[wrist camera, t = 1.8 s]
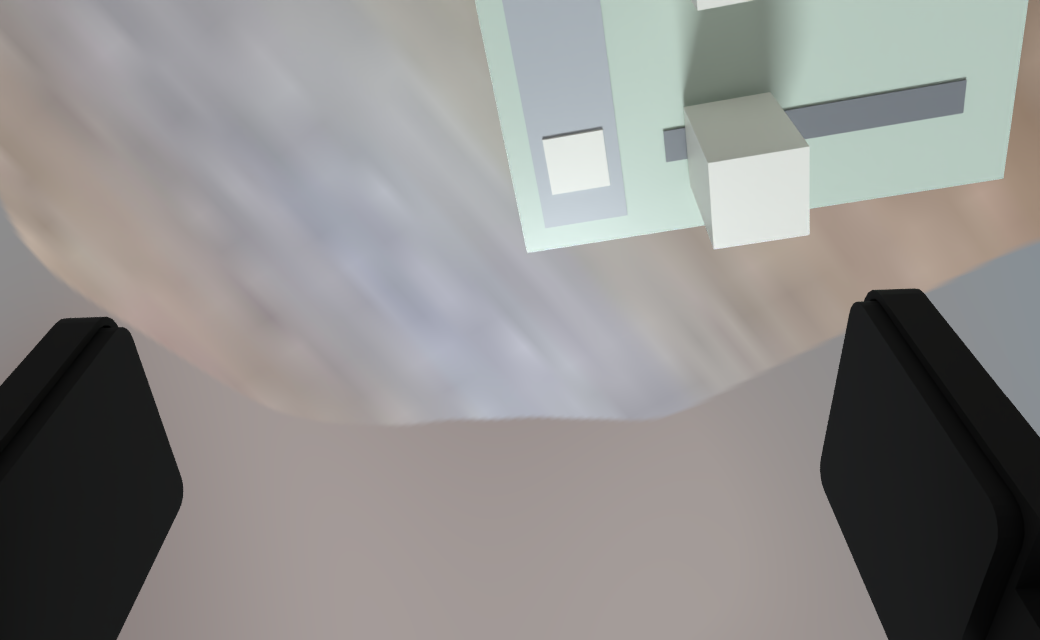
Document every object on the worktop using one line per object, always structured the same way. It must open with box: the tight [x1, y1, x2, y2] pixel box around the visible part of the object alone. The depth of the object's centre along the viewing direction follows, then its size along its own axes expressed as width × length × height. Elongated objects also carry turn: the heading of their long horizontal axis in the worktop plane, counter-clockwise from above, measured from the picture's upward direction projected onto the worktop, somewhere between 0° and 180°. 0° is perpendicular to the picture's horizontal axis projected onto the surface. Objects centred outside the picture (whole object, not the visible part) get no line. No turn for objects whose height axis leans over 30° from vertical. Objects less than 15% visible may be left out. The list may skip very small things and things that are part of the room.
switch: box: [684, 92, 810, 249], centre depth 28 cm, size 3×3×5 cm
